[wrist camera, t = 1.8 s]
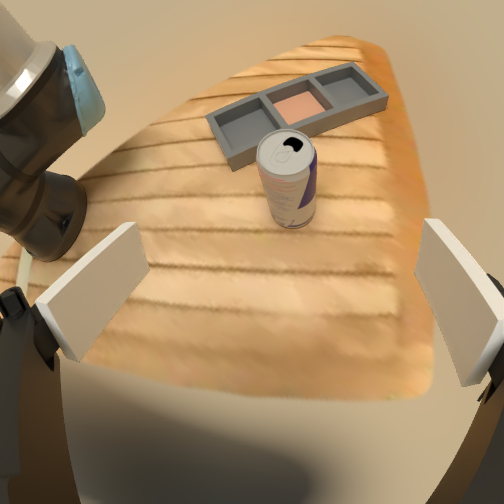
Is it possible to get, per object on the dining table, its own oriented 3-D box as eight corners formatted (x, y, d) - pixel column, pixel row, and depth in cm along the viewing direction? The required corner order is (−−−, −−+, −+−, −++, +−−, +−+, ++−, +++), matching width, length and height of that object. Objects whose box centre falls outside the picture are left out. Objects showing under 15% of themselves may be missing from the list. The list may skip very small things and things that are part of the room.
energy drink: (323, 204, 35) (329, 145, 23) (297, 237, 34) (292, 189, 23) (288, 181, 36) (279, 118, 25) (262, 213, 36) (241, 157, 24)
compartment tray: (232, 171, 38) (227, 159, 35) (211, 128, 41) (204, 115, 38) (385, 109, 37) (388, 95, 34) (351, 75, 40) (353, 61, 37)
